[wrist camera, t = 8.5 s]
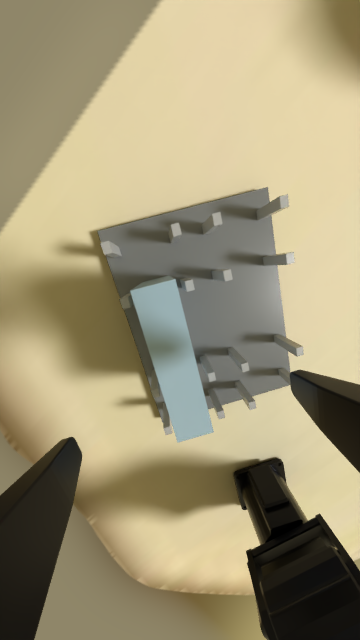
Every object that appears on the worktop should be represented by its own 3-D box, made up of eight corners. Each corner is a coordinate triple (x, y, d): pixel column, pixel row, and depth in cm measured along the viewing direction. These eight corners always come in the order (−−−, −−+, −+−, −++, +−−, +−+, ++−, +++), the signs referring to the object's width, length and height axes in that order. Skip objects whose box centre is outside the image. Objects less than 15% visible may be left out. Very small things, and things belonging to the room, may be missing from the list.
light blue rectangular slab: (193, 371, 20) (213, 432, 13) (170, 377, 20) (177, 442, 13) (168, 275, 18) (175, 279, 10) (142, 282, 18) (130, 290, 10)
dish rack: (287, 380, 23) (315, 405, 19) (162, 417, 22) (163, 450, 18) (263, 190, 18) (294, 166, 14) (100, 232, 17) (81, 220, 13)
